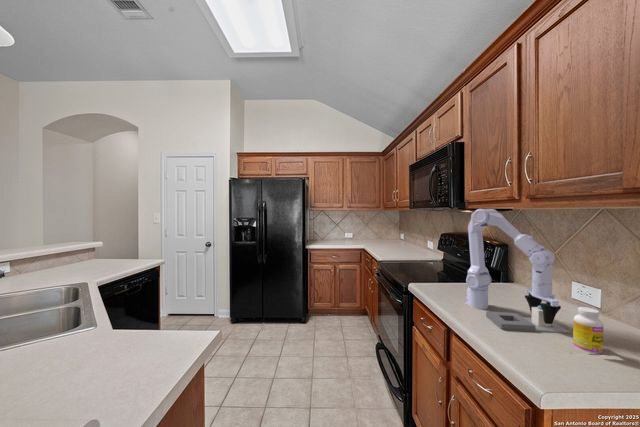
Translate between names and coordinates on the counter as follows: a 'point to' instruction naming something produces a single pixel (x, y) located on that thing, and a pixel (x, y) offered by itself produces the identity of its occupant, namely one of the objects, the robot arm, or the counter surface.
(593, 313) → the supplement bottle
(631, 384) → the counter surface
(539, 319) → the plug block
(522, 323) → the jack panel
